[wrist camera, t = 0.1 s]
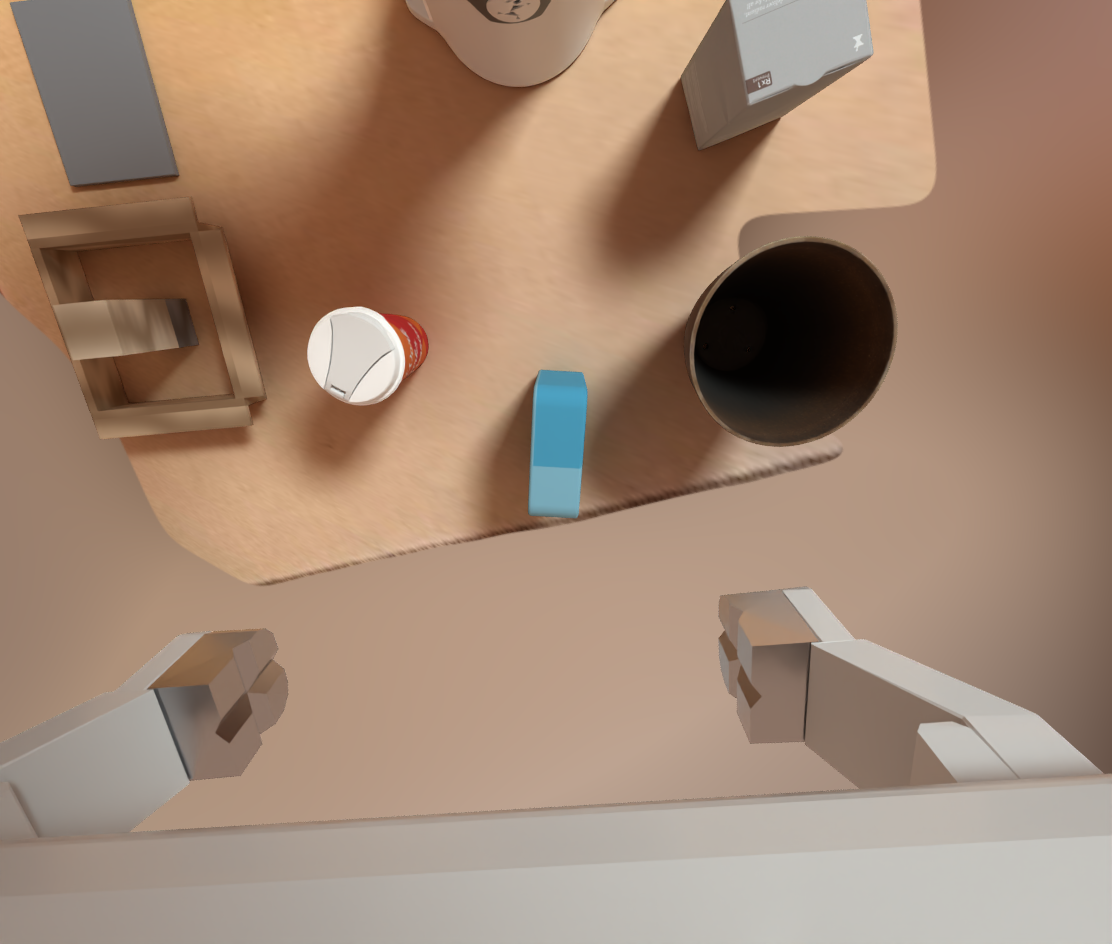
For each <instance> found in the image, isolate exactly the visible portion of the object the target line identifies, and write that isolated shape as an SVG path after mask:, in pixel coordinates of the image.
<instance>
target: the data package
mask: <svg viewBox="0 0 1112 944" xmlns="http://www.w3.org/2000/svg"><path fill="white" fill-rule="evenodd" d="M586 411H587V387H586V383H585V379H584V375H583V373H582V372H567V371H551V370H540V371H539V372H538V376H537V379H536V382H535V385H534V392H533V408H532V431H531V453H530V476H529V498H528V514H529V515H530V516H545V517H562V518H577V517H578V514H579V503H580V490H581V477H582V464H583V451H584V438H585V425H586Z"/></svg>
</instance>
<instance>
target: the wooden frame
mask: <svg viewBox="0 0 1112 944" xmlns="http://www.w3.org/2000/svg"><path fill="white" fill-rule="evenodd" d="M18 216H19V218H20V221H21V224H22V227H23V229H24V232H25V235H26V237H27V240H28V243H29V246H30V248H31V252H32V255H33V258H34V260H35V263H36V266H37V268H38V271H39V274H40V277H41V279H42V282H43V285H44V288H45V290H46V293H47V296H48V299H49V301H50V304H51V307H52V310H53V312H54V315H55V318H56V321H57V323H58V326H59V329H60V332H61V334H62V337H63V340H64V342H65V345H66V348H67V351H68V353H69V356H70V359H71V362H72V364H73V367H74V370H75V373H76V375H77V378H78V381H79V383H80V386H81V389H82V392H83V395H84V397H85V400H86V403H87V405H88V408H89V411H90V413H91V416H92V418H93V421H94V424H95V427H96V429H97V432H98V435H99V438H100V439H109V438H121V437H132V436H143V435H154V434H165V433H176V432H187V431H198V430H209V429H221V428H232V427H243V426H252V425H253V421H252V418H251V414H250V410H249V407H248V405H250V404H253V403H256V402H258V401H261V400H264V399H267V397H266V393H265V389H264V385H263V381H262V378H261V374H260V370H259V366H258V362H257V358H256V354H255V351H254V347H253V343H252V339H251V335H250V331H249V328H248V324H247V320H246V316H245V312H244V308H243V304H242V301H241V297H240V293H239V289H238V285H237V281H236V278H235V274H234V270H233V266H232V262H231V258H230V254H229V251H228V247H227V243H226V239H225V235H224V231H223V228H222V227H219V226H214V225H209V224H204V223H199V222H198V219H197V215H196V212H195V208H194V204H193V201H192V198H191V197H184V198H174V199H165V200H156V201H146V202H137V203H128V204H119V205H109V206H100V207H91V208H81V209H72V210H63V211H54V212H44V213H35V214H26V215H18ZM183 240H192V243H193V247H194V250H195V254H196V258H197V261H198V265H199V268H200V272H201V276H202V279H203V283H204V286H205V290H206V294H207V297H208V301H209V304H210V308H211V311H212V315H213V319H214V322H215V326H216V329H217V333H218V337H219V340H220V344H221V347H222V351H223V355H224V358H225V362H226V365H227V369H228V373H229V376H230V380H231V383H232V387H233V391H234V394H226V395H216V396H205V397H194V398H183V399H172V400H162V401H151V402H140V403H128V400H127V397H126V394H125V391H124V388H123V385H122V382H121V380H120V377H119V374H118V371H117V368H116V365H115V362H114V359H113V356H112V357H102V358H92V359H81V360H72V357H71V354H70V351H69V349H68V346H67V343H66V340H65V338H64V335H63V332H62V329H61V327H60V324H59V321H58V318H57V316H56V313H55V310H54V307H53V305H60V304H70V303H80V302H90V301H94V300H93V297H92V294H91V291H90V289H89V286H88V283H87V280H86V277H85V274H84V271H83V268H82V265H81V262H80V259H79V256H78V253H77V252H78V251H87V250H97V249H106V248H116V247H125V246H135V245H145V244H154V243H164V242H173V241H183Z"/></svg>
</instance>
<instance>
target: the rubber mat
mask: <svg viewBox="0 0 1112 944" xmlns="http://www.w3.org/2000/svg"><path fill="white" fill-rule="evenodd" d="M10 5H11V8H12V11H13V14H14V17H15V20H16V23H17V26H18V29H19V32H20V35H21V38H22V41H23V44H24V47H25V50H26V53H27V56H28V59H29V62H30V65H31V68H32V71H33V74H34V77H35V80H36V83H37V86H38V89H39V92H40V95H41V98H42V101H43V104H44V107H45V110H46V113H47V116H48V119H49V122H50V125H51V128H52V131H53V134H54V137H55V140H56V143H57V146H58V149H59V152H60V155H61V158H62V161H63V164H64V167H65V170H66V173H67V176H68V180H69V183H70V185H71V186H75V187H78V186H87V185H96V184H105V183H114V182H124V181H133V180H142V179H151V178H160V177H169V176H178V175H179V174H178V170H177V166H176V163H175V159H174V155H173V152H172V148H171V145H170V141H169V137H168V134H167V130H166V126H165V123H164V119H163V115H162V112H161V108H160V105H159V101H158V97H157V94H156V90H155V86H154V83H153V79H152V76H151V72H150V68H149V65H148V61H147V57H146V54H145V50H144V46H143V43H142V39H141V36H140V32H139V28H138V25H137V21H136V17H135V14H134V10H133V7H132V3H131V0H27V1H19V2H11V3H10Z"/></svg>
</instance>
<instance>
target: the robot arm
mask: <svg viewBox="0 0 1112 944" xmlns="http://www.w3.org/2000/svg"><path fill="white" fill-rule="evenodd" d="M405 1H406V4H407V7H408V9H409V10H410V12H411V13H412V14H413V15H414V16H415V17H416V18H418V19H419V20H420V21H422V22H423V23H425V24H426V25H428V26H430V27H431V28H433V29H435V30H437V31H438V32H439V33H440V34H441V36H442V37H443V38H444V39H445V41H446V42H447V43H448V45H449V46H450V48H451V49H452V50H453V52H454V53H455V54H456V56H457V57H458V58H459V59H460V60H461V61H462V62H463V63H464V64H465V65H466V66H467V67H468V68H469V69H471V70H472V71H473V72H475V73H476V74H478V75H479V76H481V77H483V78H484V79H486V80H489V81H491V82H494V83H497V84H500V85H505V86H512V87H524V86H531V85H536V84H539V83H542V82H545V81H547V80H549V79H551V78H553V77H555V76H556V75H558V74H560V73H561V72H562V71H564V70H565V69H566V68H567V67H568V66H569V65H570V64H571V63H572V62H573V61H574V60H575V59H576V58H577V57H578V56H579V54H580V53H581V52H582V50H583V49H584V47H585V45H586V44H587V42H588V40H589V38H590V36H591V34H592V32H593V30H594V28H595V26H596V23H597V21H598V19H599V18H600V16H601V14H602V13H603V11H604V10H605V9H606V8H607V7H608V6H610V5H611V4H612V3H613V2H614V1H615V0H405ZM719 619H720V621H721V623H722V625H723V627H724V629H725V631H724V632H723V633H722V635H721V636H720V637H719V658H720V665H721V671H722V675H723V678H724V682H725V685H726V687H727V690H728V692H729V694H731V695H732V696H734V697H735V698H737V714H738V716H739V719H740V721H741V723H742V726H743V728H744V730H745V733H746V735H747V737H748V740H749V742H750V744H754V743H782V742H805V745H806V746H808V747H809V748H810V749H811V750H813V751H814V752H815V753H816V754H817V755H819V756H820V757H821V758H822V759H824V760H825V761H826V762H827V763H829V764H830V765H831V766H832V767H834V768H835V769H836V770H837V771H838V772H840V773H841V774H842V775H844V776H845V777H846V778H847V779H848V780H849V781H851V782H852V783H853V784H854V785H856V786H857V787H858V788H859V789H848V790H833V791H832V790H831V791H814V792H798V793H783V794H782V793H781V794H764V795H749V796H748V795H747V796H731V797H715V798H697V799H682V800H665V801H647V802H630V803H614V804H597V805H580V806H564V807H548V808H530V809H513V810H496V811H482V812H465V813H448V814H431V815H413V816H397V817H379V818H363V819H346V820H330V821H312V822H296V823H279V824H262V825H245V826H228V827H212V828H195V829H178V830H160V831H143V832H130V831H131V830H132V829H133V828H135V827H136V826H137V825H138V824H140V823H141V822H142V821H143V820H145V819H146V818H147V817H148V816H150V815H151V814H152V813H153V812H155V811H156V810H157V809H158V808H159V807H161V806H162V805H163V804H164V803H166V802H167V801H168V800H169V799H171V798H172V797H173V796H174V795H176V794H177V793H178V792H179V791H181V790H182V789H183V788H184V787H186V786H187V785H188V784H189V783H190V782H189V781H191V780H202V779H213V778H222V777H234V776H241V774H242V773H243V772H244V770H245V768H246V767H247V766H248V764H249V763H250V761H251V760H252V758H253V757H254V755H255V754H256V752H257V751H258V749H259V748H260V746H261V745H262V741H261V736H260V734H261V733H262V732H264V731H266V730H267V729H268V728H270V727H271V726H273V725H274V724H276V722H277V721H278V719H279V718H280V716H281V714H282V713H283V711H284V708H285V704H286V700H287V696H288V680H287V677H286V673H285V670H284V668H282V667H281V666H280V665H279V664H278V663H277V662H275V661H274V660H273V659H274V656H275V654H276V652H277V650H278V646H277V643H276V641H275V638H274V635H273V633H272V632H270V631H269V630H267V629H246V630H227V631H213V632H211V631H206V632H196V633H187V634H182V635H178V636H177V637H176V638H175V639H174V640H173V641H171V642H170V643H169V644H168V645H167V646H166V647H164V648H163V649H162V650H161V651H160V652H159V653H158V654H157V655H155V656H154V657H153V658H152V659H151V660H150V661H149V662H147V663H146V664H145V665H144V666H143V667H142V668H141V669H139V670H138V671H137V672H136V673H135V674H134V675H133V676H131V677H130V678H129V679H128V680H127V681H126V682H125V683H123V684H122V685H121V686H120V687H119V688H118V689H117V690H115V691H114V692H108V693H103V694H101V695H99V696H97V697H95V698H93V699H91V700H89V701H87V702H85V703H82V704H80V705H78V706H76V707H74V708H73V709H70V710H68V711H66V712H64V713H62V714H60V715H57V716H55V717H53V718H51V719H49V720H47V721H45V722H43V723H41V724H39V725H37V726H35V727H32V728H30V729H28V730H26V731H24V732H22V733H20V734H18V735H16V736H14V737H12V738H10V739H8V740H6V741H3V742H2V743H0V944H1112V774H1104V773H1102V772H1101V771H1100V770H1099V769H1098V768H1097V767H1096V766H1094V765H1093V764H1092V763H1091V762H1090V761H1089V760H1088V759H1087V758H1086V757H1084V756H1083V755H1082V754H1081V753H1080V752H1079V751H1077V749H1075V748H1074V747H1073V746H1072V745H1071V744H1070V743H1068V742H1067V741H1066V740H1065V739H1064V738H1063V737H1062V736H1061V735H1060V734H1059V733H1057V732H1056V731H1055V730H1054V729H1053V728H1052V727H1050V726H1049V725H1048V724H1047V723H1046V722H1045V721H1044V720H1042V718H1041V717H1039V716H1038V715H1037V714H1035V713H1033V712H1030V711H1028V710H1026V709H1024V708H1021V707H1019V706H1017V705H1014V704H1012V703H1010V702H1008V701H1005V700H1003V699H1000V698H998V697H996V696H994V695H991V694H989V693H987V692H984V691H982V690H980V689H978V688H975V687H973V686H971V685H969V684H966V683H964V682H962V681H959V680H957V679H955V678H953V677H950V676H948V675H946V674H943V673H941V672H939V671H936V670H934V669H932V668H929V667H927V666H925V665H923V664H920V663H918V662H916V661H914V660H911V659H909V658H907V657H904V656H902V655H900V654H897V653H895V652H893V651H890V650H888V649H886V648H884V647H881V646H879V645H877V644H874V643H872V642H870V641H868V640H865V639H862V640H855V639H854V638H853V637H852V636H851V634H850V633H849V632H848V631H847V629H846V628H845V627H844V626H843V625H842V624H841V623H840V621H838V619H837V618H836V617H835V616H834V614H833V613H832V612H831V611H830V610H829V609H828V607H827V606H826V605H825V604H824V603H823V602H822V601H821V599H820V598H819V597H818V596H817V595H816V594H815V592H814V591H813V590H812V589H811V588H808V587H797V588H788V589H779V590H770V591H760V592H750V593H740V594H731V595H721V596H720V600H719Z"/></svg>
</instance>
